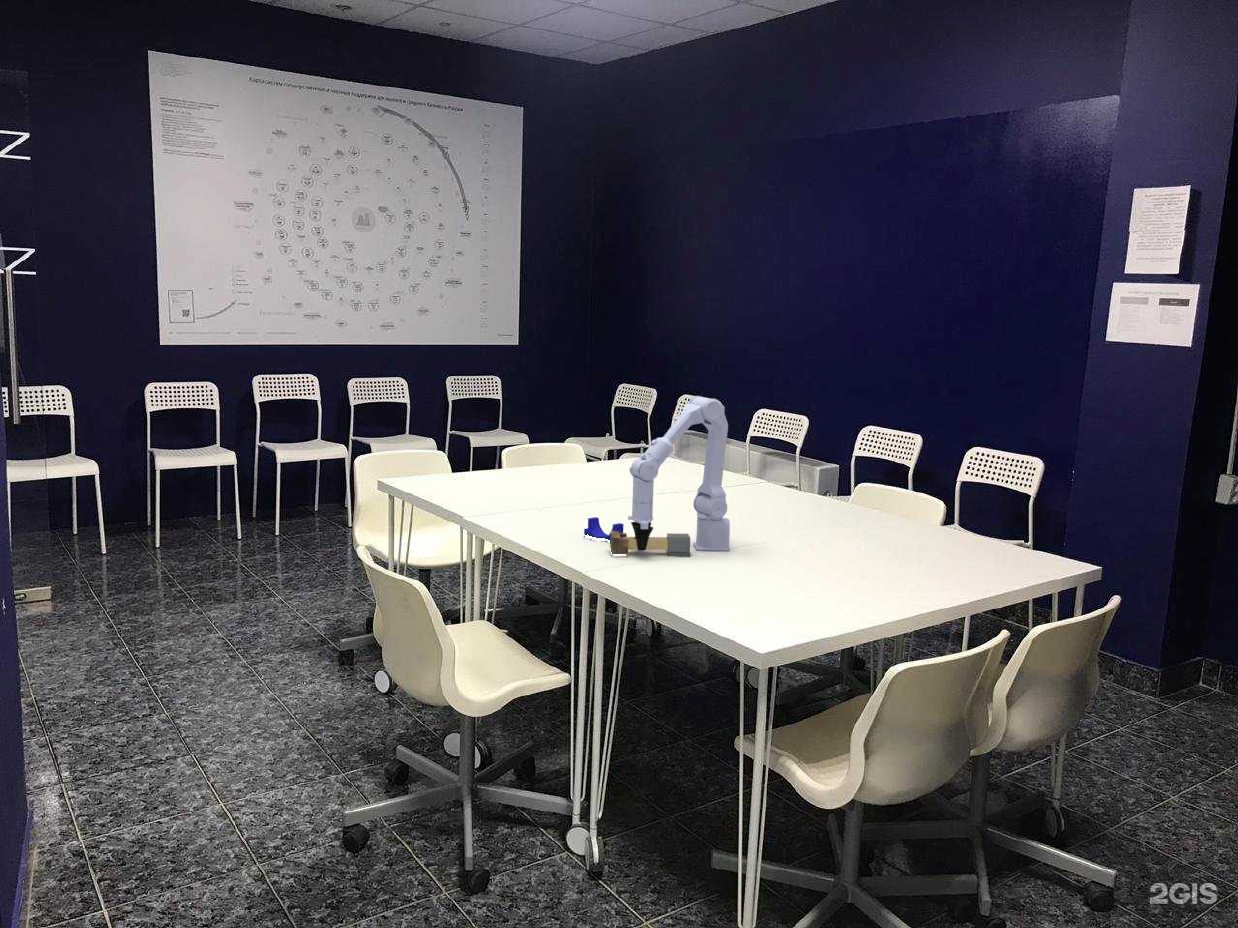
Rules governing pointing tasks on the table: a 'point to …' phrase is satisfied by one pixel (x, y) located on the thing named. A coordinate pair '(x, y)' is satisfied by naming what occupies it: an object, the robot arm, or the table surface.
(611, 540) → the socket block
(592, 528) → the cable clip
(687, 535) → the sleeve
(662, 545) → the tube
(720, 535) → the robot arm
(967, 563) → the table surface
